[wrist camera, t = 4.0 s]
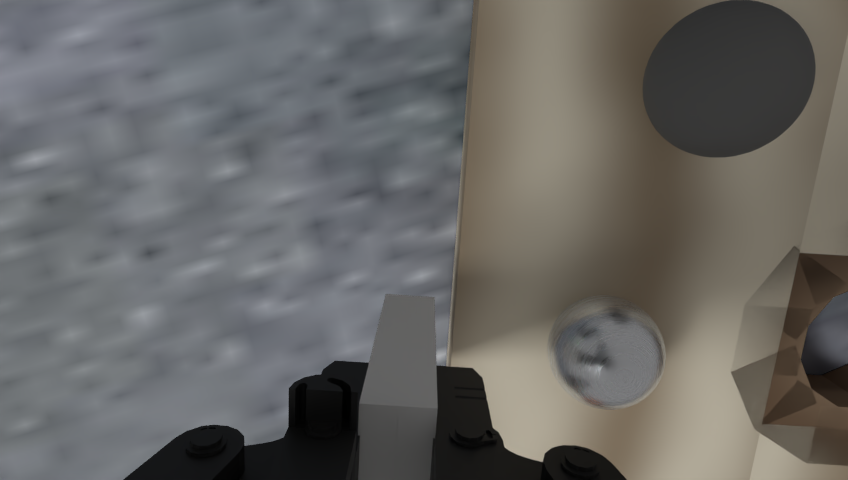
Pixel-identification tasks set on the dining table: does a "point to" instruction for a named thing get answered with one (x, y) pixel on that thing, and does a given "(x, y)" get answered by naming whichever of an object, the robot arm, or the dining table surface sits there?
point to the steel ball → (606, 352)
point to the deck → (649, 245)
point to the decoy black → (729, 78)
